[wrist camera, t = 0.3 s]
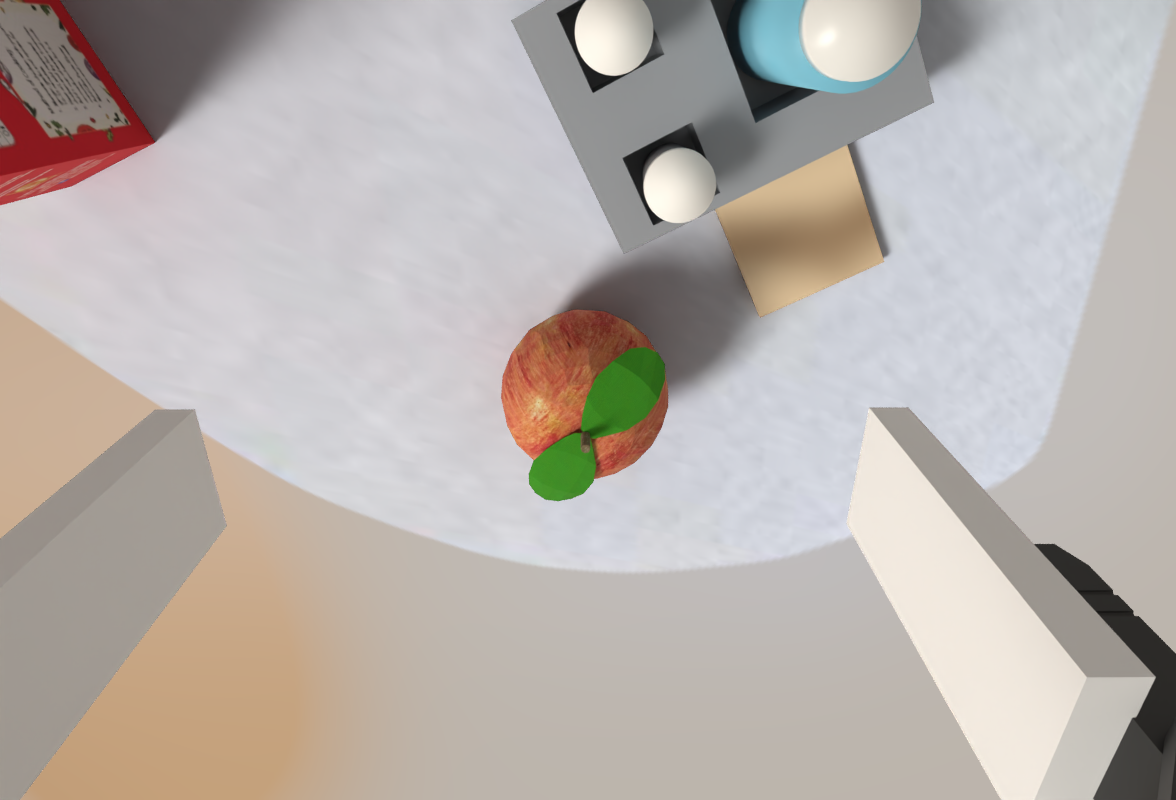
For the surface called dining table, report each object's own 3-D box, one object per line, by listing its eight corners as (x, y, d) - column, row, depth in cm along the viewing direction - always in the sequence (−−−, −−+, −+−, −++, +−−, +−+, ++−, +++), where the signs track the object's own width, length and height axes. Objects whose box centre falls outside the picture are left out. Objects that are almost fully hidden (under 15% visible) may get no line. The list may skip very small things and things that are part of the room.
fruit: (475, 369, 41) (445, 459, 32) (587, 248, 38) (588, 310, 29) (585, 455, 43) (586, 561, 34) (698, 349, 40) (731, 434, 31)
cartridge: (712, 4, 32) (774, -17, 22) (804, -46, 31) (913, -93, 21) (746, 98, 34) (818, 119, 24) (834, 52, 33) (949, 54, 23)
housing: (518, 23, 33) (511, 20, 29) (827, -155, 30) (861, -182, 26) (619, 234, 37) (623, 254, 34) (897, 96, 34) (934, 102, 31)
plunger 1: (563, 16, 30) (560, 12, 27) (627, -20, 30) (633, -30, 26) (594, 85, 31) (596, 90, 28) (656, 51, 31) (666, 52, 27)
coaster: (711, 199, 37) (712, 201, 36) (841, 135, 35) (844, 136, 35) (758, 314, 39) (760, 317, 39) (880, 259, 38) (884, 261, 38)
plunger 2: (627, 157, 33) (632, 170, 29) (686, 126, 32) (699, 135, 29) (653, 215, 34) (661, 235, 30) (711, 187, 33) (727, 203, 30)
